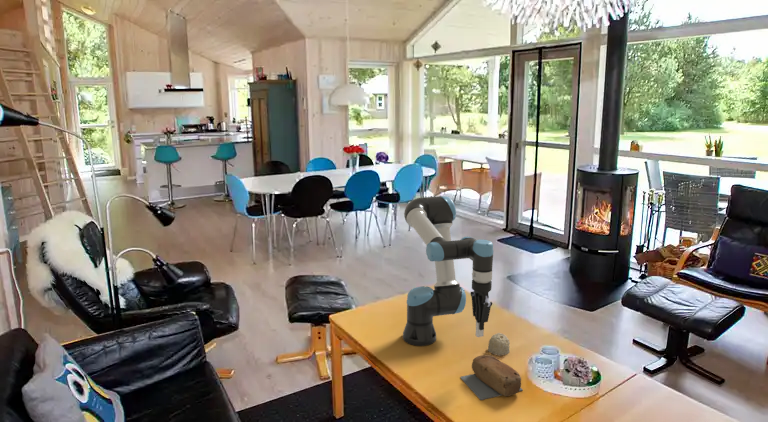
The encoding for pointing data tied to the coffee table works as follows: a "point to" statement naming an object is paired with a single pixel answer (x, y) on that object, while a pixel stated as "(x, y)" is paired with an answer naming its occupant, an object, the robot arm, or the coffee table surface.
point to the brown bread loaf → (497, 374)
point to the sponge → (499, 344)
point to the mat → (480, 387)
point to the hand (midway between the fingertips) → (479, 335)
